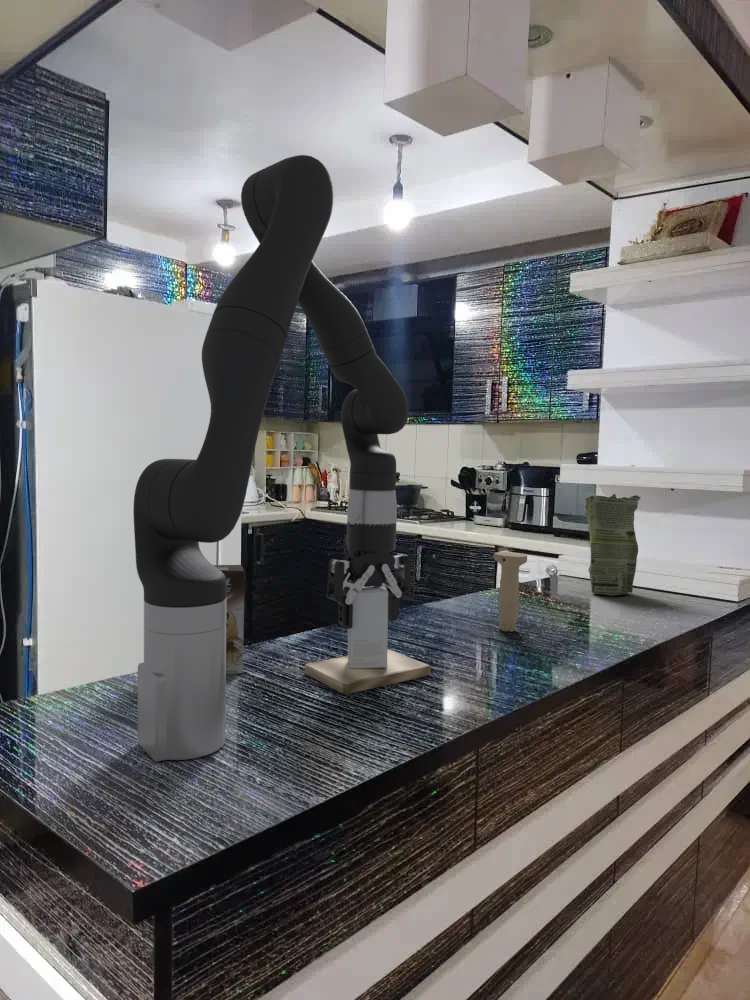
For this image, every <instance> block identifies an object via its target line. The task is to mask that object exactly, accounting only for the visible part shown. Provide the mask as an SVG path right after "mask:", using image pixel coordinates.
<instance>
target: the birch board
mask: <svg viewBox="0 0 750 1000" xmlns="http://www.w3.org/2000/svg"><path fill="white" fill-rule="evenodd" d="M304 674H305V675H307V676H309V677H311V678H313V679H314V680H316V681H318V682H320V683H322V684H324V685H326V686H328V687H330V688H332V689H334V690H335V691H338V692H339V693H342V694H343V695H349V694H354V693H358V692H362V691H367V690H372V689H375V688H376V689H377V688H380V687H384V686H389V685H393V684H398V683H401V682H407V681H410V680H415V679H419V678H424V677H428V676H431V665H430V664H428V663H425V662H423V661H419V660H417V659H414V658H413V657H411V656H410V657H409V656H408V655H404V654H402V653H400V652H397V651H394V650H392V649H389V648H387V668H349V663H348V655H346V656H340V657H334V658H329V659H324V660H319V661H314V662H309V663H305V664H304Z"/></svg>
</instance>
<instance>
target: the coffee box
mask: <svg viewBox="0 0 750 1000" xmlns="http://www.w3.org/2000/svg"><path fill="white" fill-rule="evenodd" d="M212 565H213V566H215V567H216V568H218V569H219V570H220V571H222V572H223V573H224V575H225V577H226V581H227V597H226V598H227V606H226V675H235V674H237V675H239V674H243V672H244V633H245V632H244V631H245V630H244V627H245V626H244V623H245V621H244V620H245V581H246V580H245V578H246V577H245V575H246V574H245V573H246V572H245V570H244V569H245V568H243V566H242V564H215V565H214V564H212Z"/></svg>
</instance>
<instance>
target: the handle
mask: <svg viewBox="0 0 750 1000" xmlns="http://www.w3.org/2000/svg"><path fill="white" fill-rule="evenodd" d="M493 555H494V556H493V558H494V561H495V562H497V563H499V565H501V567H500V571H501V572H500V583H499V584H500V585H499V591H498V603H497V604H498V607H497V609H498V620H499V622H498V626H499V628H498V629H499V630H501V631H502V632H508V631H509V632H510V633H511V632H512V633H513V632H516V631H517V627H518V624H517V622H518V618H519V611H520V609H519V608H520V584H519V583H520V576H519V574H520V567H521V566H522V565H525V564H526V563H527V562H528V555H527V554H525V553H519V552H510V551H508V552H507V551H499V552H498V551H497V552H494V554H493Z"/></svg>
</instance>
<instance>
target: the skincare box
mask: <svg viewBox="0 0 750 1000" xmlns="http://www.w3.org/2000/svg"><path fill="white" fill-rule="evenodd" d="M351 604H352V605H353V623H352V628H351V629H347V656H348V663H349V668H387V648H388V644H389V643H388V642H389V641H388V639H389V637H388V636H389V635H388V633H389V631H388V630H389V629H388V627H389V621H388V591H387V589H386V587H385V586H381V585H379V586H378V585H372V586H370V587H363V588H362V590H361V591H360V592H359V593H357V594H356V596H355V598H354V599H353V601H352V603H351ZM388 649H389V648H388Z"/></svg>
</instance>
